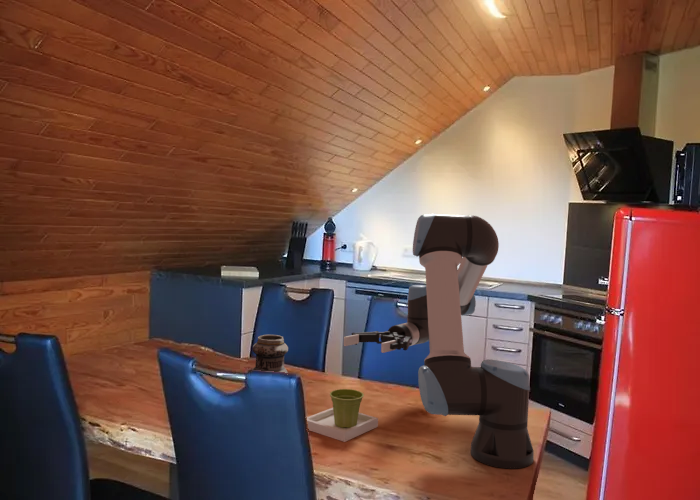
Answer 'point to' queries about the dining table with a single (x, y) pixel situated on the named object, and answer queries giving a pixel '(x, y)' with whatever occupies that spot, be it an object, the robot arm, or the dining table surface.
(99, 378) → the dining table surface
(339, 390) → the plant pot
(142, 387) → the dining table surface
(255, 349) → the apothecary jar
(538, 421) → the dining table surface
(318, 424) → the pot tray
